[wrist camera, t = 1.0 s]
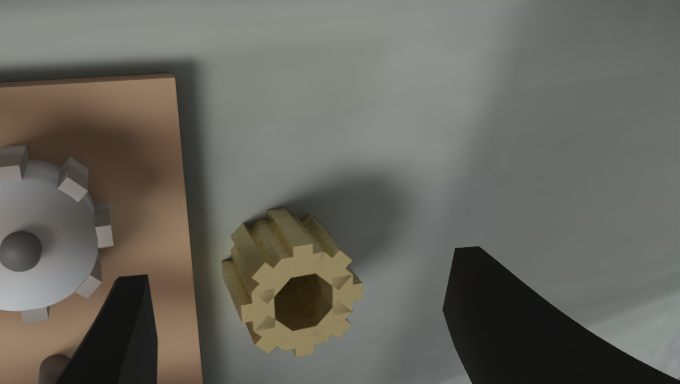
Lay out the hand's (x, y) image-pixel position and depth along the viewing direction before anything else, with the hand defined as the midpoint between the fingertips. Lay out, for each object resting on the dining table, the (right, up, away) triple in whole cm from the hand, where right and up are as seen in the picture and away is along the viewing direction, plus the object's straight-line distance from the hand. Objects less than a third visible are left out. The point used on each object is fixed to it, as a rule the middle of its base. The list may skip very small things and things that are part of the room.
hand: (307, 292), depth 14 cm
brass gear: (-2, -1, +17) cm, 18 cm away
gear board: (-13, -2, +13) cm, 19 cm away
